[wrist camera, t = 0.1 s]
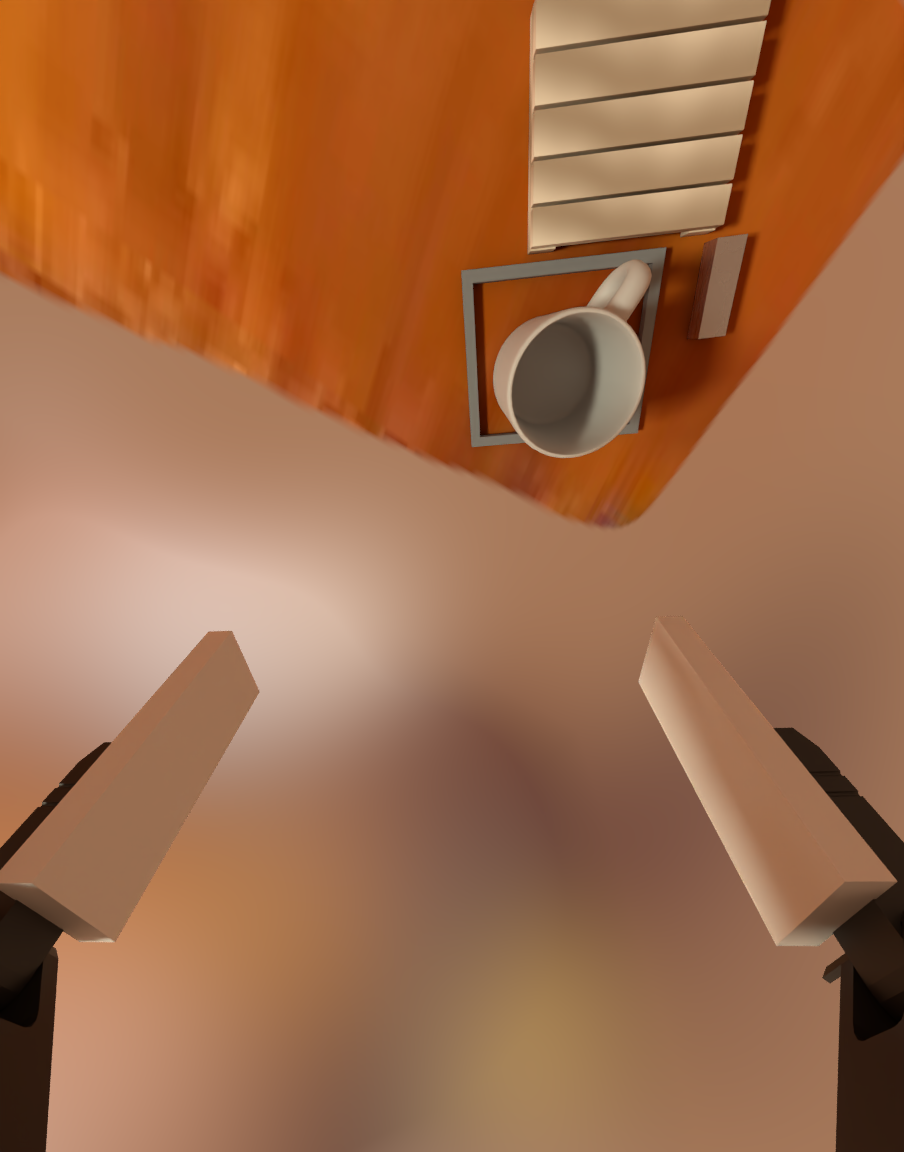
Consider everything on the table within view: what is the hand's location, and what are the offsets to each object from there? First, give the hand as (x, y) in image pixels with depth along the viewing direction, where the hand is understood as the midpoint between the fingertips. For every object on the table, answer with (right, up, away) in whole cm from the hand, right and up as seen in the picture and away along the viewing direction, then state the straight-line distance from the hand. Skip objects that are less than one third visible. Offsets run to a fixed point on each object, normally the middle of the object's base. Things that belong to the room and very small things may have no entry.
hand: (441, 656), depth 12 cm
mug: (+9, +21, +20) cm, 30 cm away
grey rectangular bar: (+20, +25, +17) cm, 36 cm away
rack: (+12, +32, +13) cm, 36 cm away
